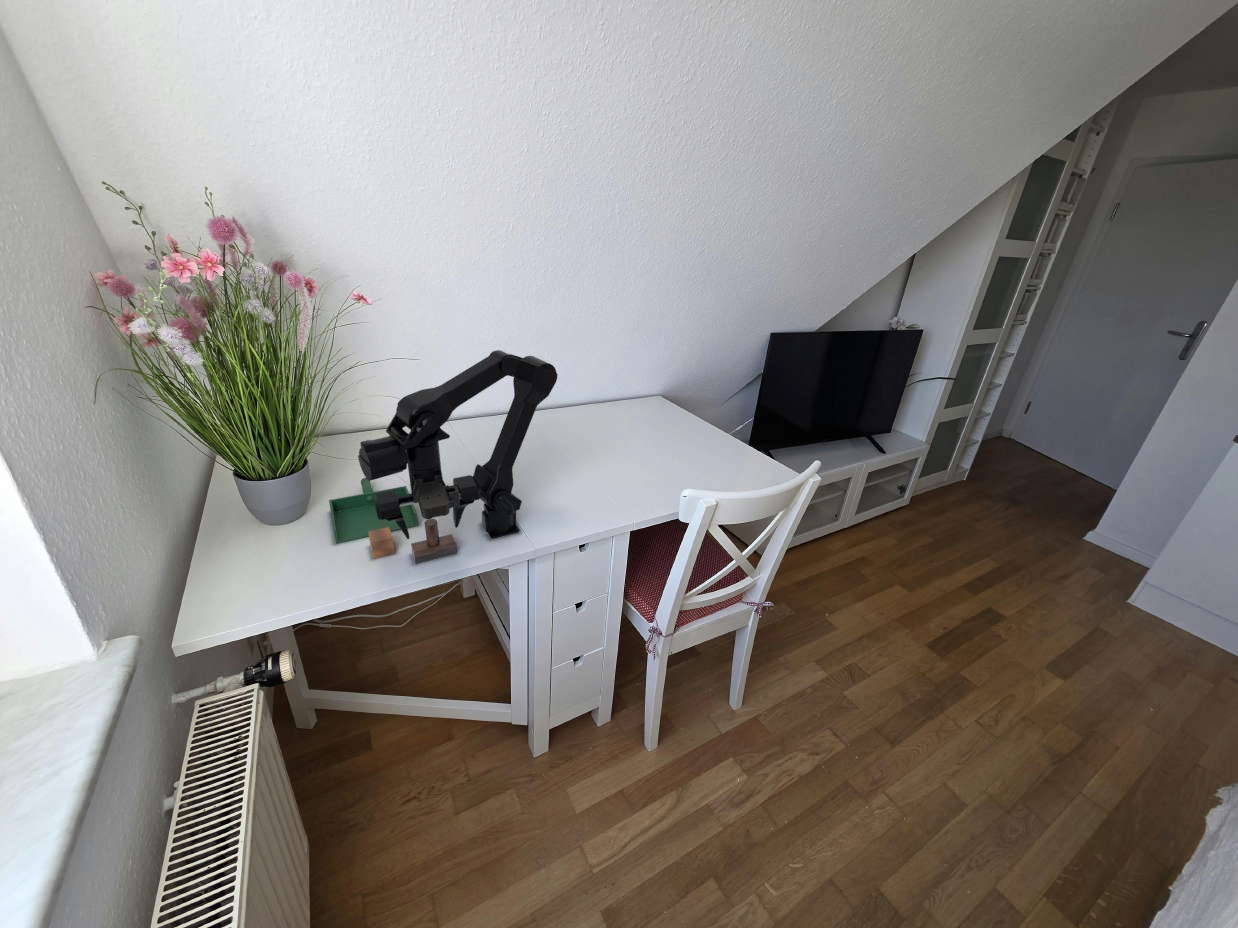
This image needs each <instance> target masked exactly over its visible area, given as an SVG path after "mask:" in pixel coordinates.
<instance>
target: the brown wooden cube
mask: <svg viewBox="0 0 1238 928" xmlns="http://www.w3.org/2000/svg"><path fill="white" fill-rule="evenodd" d="M368 535H369V537H368V539H369V540H368V541H369V546H370V549H371V553H372V554H371V555H372V557H373V559H378V558H382V557H385V556H391V555H394V554H396V550H395V545H394V538H393V534H392V531H390V528H389V527H387V528H382V529H377V530H373V531H368Z"/></svg>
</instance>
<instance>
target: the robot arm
mask: <svg viewBox="0 0 1238 928" xmlns="http://www.w3.org/2000/svg"><path fill="white" fill-rule="evenodd" d="M558 375H559V374H558V372H557V368H556V367H555V366H554V365H553V364H552V363H549V362H547V361H546V360H542V358H541V359H540V358H538V357H536V356H534V355H526V356H524V357H521V356H519V355H515V354H512V353H508V352H506V351H503V350H500V349H496V350H493V351H491V352H490V354H489V355H488V356H486V357H485V358H483V359H482V360H480V361H478V362H477V363H475V364H473V365H471V366H470V367H468V368H467V369H465V370H464V371H462V372H460V373H458V374H457V375H455V376H453V377H452V378H450V379H448V380H446V381H445V382H443V383H442V384H440V385H438V386H435V387H430V388H424V389H420V390H417V391H415V392H412V393H410V394H407V395H405V396H403V397H402V398H401V399H399V401H398V402H397V406H396V408H395V414H394V416H393V418H392V419H391V421H390V423H389V424H388V426H387V428H386V429H385V433H386V434H387V435H389V436H384V437H379V438H376V439H366V440H362V441H360V443H359V444H360V448H359V450H358V455H357V458H358V462H359V466H360V468H361V471H362V474H363V475H364V478H366V479H367V480H369V481H370V482H371V481H374V480H378V479H382V478H384V477H388V476H392V475H395V474H399V473H402V472H404V471H405V470H408V478H409V482H410V483H409V486H410V493H409V494H406V495H401V496H397V494H396V492H395V489H394V490H388V491H383V492H378V493H375V494H374V496H373V501H374V506H375V510H376V514H377V517H378V519H380V520H384V519H386V520H387V521H394V522H396V523H397V524H398V526H399V527H400V528H401V529H400V530H401V531H402V533H403V535H404V536H405V538H406V540H410V532H409V529H408V528H407V526H406V523H405V520H404V517H403V514H402V511H401V508H400V507H401V506H406V505H411V504H413V505H417V504H418V506H419V510H420V514H421V517H422V518H423V519H424V520H428V519H434V518H437V517H438V518H439V517H445V516H448V515H449V514H450V511H451V509H452V518H453V525H454V527H455V529H458V528H459V526H460V522H461V519H462V516H463V513H464V511H465V509H466V507H468V506H469V505H472V504H474V503H475V501H479V500H481V502H483V510H481V524H482V525H481V526H482V528H483V530H484V531H485V533H487V535H488V537H489V538H490V539H497V538H501V537H505V536H508V535H513V534H516V533H519V532H520V528H519V527H518V525H517V511H519V510H520V509H521V506H522V503H523V501H522V500H521V499H520V498H519V497H517V496H516V495H515V494H514V493H512V492H513V487H514V472H513V468H514V466H515V462H516V461H517V458H518V455H519V453H520V450H521V447H522V445H523V442H524V440H525V437H526V435H527V433H528V429H529V428H530V425H531V422H532V420H533V417H534V415H535V412H536V410H537V407H538V406H539V405H540V404H541V403H542V402H543V401H545V400H546V399H547V398H548V397H549V396H550V394H551V392H552V391H553V389H554V387H555V385H556V383H557V381H558ZM507 376H509V377H511V378H513V380H512V383H513V393H514V395H513V399H512V401H511V404H510V407H509V410H508V412H507V414H506V417H505V420H504V422H503V425H502V427H501V430H500V433H499V436H498V438H497V440H496V442H495V445H494V448H493V450H492V452H491V453H492V454H491V456H490V458H489V460H487V461H486V462H485V463H484V464H483V465H481V464H479V463H478V464H476V466H475V468H474V473H473V475H472V474H469V475H464V476H459V477H454V478H453V479H452V485H449V484H447V485H446V482H445V481H444V479H443V472H442V461H441V453H440V441H444V440H448V439H450V437H451V435H450V434H449V433H448V432H447V431H445V430H444V429H443V428H441V427H442V426H443V425H444V424H445V423H447V422H448V420H449V419H450V417H451V416H452V413H453V412H454V411H455V410H456V409H458V408H459V407H461V405H464V404H465V403H466V402H468V401H469V400H471V399H472V398H475V396H477V395H479V394H480V393H482V392H484V391H485V390H486V389H488V388H489V387H491V386H493V385H494V384H496V383H497V382H499V381H501V380H502V379H504V378H506V377H507ZM405 427H406V428H407V429H409V430H410V431H409V432H408V431H406V430H405V429H404V428H405Z"/></svg>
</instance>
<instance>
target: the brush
mask: <svg viewBox="0 0 1238 928" xmlns="http://www.w3.org/2000/svg"><path fill="white" fill-rule="evenodd" d="M424 530H425V538H426V539H425V540H420V541H415V542H412V543H410V547H411V553H412V558H413V561H414V563H415V564H416V565H418V564H420V563H424V562H428V561H433V560H436V559H441V558H444V557H448V556H452V555H456V554H457V545H456V540H455V537H454V536H453V534H452V533H449V534H446V535H441V536H440V532H439V524H438V520H437V519H435V518H431V519H425V521H424Z"/></svg>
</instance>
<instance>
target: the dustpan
mask: <svg viewBox="0 0 1238 928" xmlns="http://www.w3.org/2000/svg"><path fill="white" fill-rule="evenodd" d="M360 485H361V489H362V492H363V493H359V494H354V495H348V496H343V497H339V498H334V499H329V500H328V502H329V508H330V517H331V524H332V530H333V536H334V539H335V544H341V543H345V542H351V541H356V540H360V539H363V538H369V535H368V531H373V530H377V529H382V528H387V527H389V528H390V531H391V532H396V531H400V530H401V528H400V527H399V526H398V524H397V523H396V522H394V521H387V520H386V519H384V520H380V519H378V517H377V514H376V510H375V506H374V501H373V496H374V494H375V493H378V492H383V491H388V490H394V489H395V492H396V494H397V496H401V495H406V494H410V491H409V490H408V487H407V486H406V485H404V486H398V487H391V488H387V489H382V490H375V491H374V490H373V487H372V483H371V481H369V480H367V479H366V477H363V478H362V479H361V480H360ZM400 508H401V511H402V514H403V517H404V520H405V523H406V526H407V529H408V528H414V527H418V526H419V522H418V513H417V511H416V508H415V504H411V505H406V506H401V507H400Z"/></svg>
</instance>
